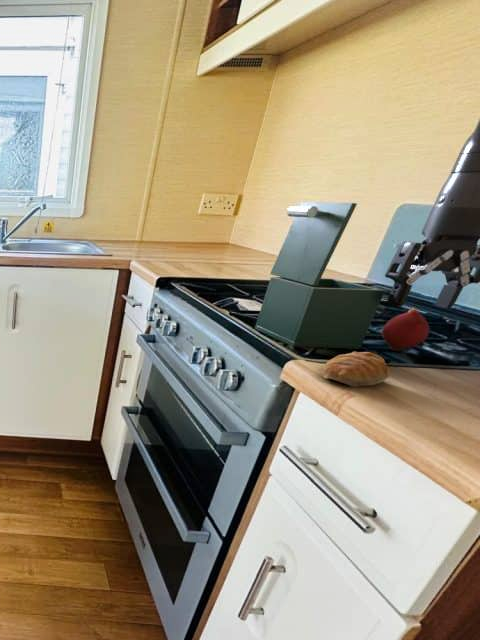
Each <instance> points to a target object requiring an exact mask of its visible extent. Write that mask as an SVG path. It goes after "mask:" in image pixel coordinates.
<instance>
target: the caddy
mask: <svg viewBox="0 0 480 640" xmlns="http://www.w3.org/2000/svg"><path fill="white" fill-rule="evenodd" d="M385 292H386V290H385V289H380V288H378V287H372V286H367V285H363V284H359V283H355V282H350V281H346V280H341V279H337V278H328V277H327V278H324V277H323V278H322V277H321V279H320V281H319V283H318V285H317V286H314V285H310V284H306V283H302V282H298V281H294V280H291V279H287V278H283V277H279V276H271V277H270V279H269V282H268V285H267V289H266V291H265V295H264V298H263V301H262V305H261V308H260V310H259V313H258V317H257V320H256V323H255V326H254V330H257V331H258V332H261V333H263V334H265V335H267V336H269V337H271V338H274V339H276V340H278V341H280V342H282V343H284V344H286V345H288V346H291V347H294V348H295V347H296V348H327V349H329V348H331V349H360V350H361V347H362V345H363V343H364V340H365V339H366V337H367V334H368V331H369V329H370V327H371V325H372V323H373V320H374V317H375V315H376V313H377V310H378V308H379V306H380V303H381V301H382V299H383V297H384V295H385Z"/></svg>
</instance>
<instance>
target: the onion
mask: <svg viewBox="0 0 480 640" xmlns="http://www.w3.org/2000/svg"><path fill="white" fill-rule="evenodd" d="M429 333H430V326H429V323H428V321H427V320H426V318H425V317H424V316H423V315H422V314H421V313H420V312H419V311H418V309H417V308H415V307H410V308H409V309H408V311H407V312H404V313H401V314H398V315H396V316H394V317H393V318H391V319H390V320H388V321H387V322H386V323H385V324H384V326H383V327H382V330H381V337H382V338H383V340H384V341H385V343H386V345H388V346H389V347H390V349H391V350H392V351H394V352H400V351H404V350H408V349H412V348H414V347H417V346H419V345H420V344H422V343H423V342H425V340H426V339H427V338H428V336H429Z"/></svg>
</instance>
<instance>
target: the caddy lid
mask: <svg viewBox="0 0 480 640" xmlns="http://www.w3.org/2000/svg"><path fill="white" fill-rule="evenodd" d="M357 205H358V203H355V202H329V201H328V202H321V201H320V202H319V201H301V202H300V204H299V205H291V206H289V207H288V208H287V210H286V215H287V216H288V217H291V218H293V217H294V219H293V220H292V222H291V225H290V227H289V230H288V232H287V234H286V236H285V239H284V241H283V243H282V244H281V245H282V246H281V248H280V250H279V253H278V255H277V257H276V260H275V262H274V264H273V266H272V268H271V270H270V273H269V275H272V276H274V277H283V278H287V279H291V280H294V281H298V282H302V283H306V284H310V285H314V286H317V285H318V283H319V281H320V279H321V278H322V277H323V275H324V272H325V270H326V268H327V267H328V265H329V262H330V260H331V258H332V256H333V255H334V252H335V250H336V248H337V246H338V244H339V243H340V240H341V238H342V236H343V234H344V232H345V230H346V228H347V225H348V224H349V222H350V219H351V217H352V215H353V213H354V212H355V209H356V208H357Z"/></svg>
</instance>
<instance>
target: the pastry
mask: <svg viewBox="0 0 480 640" xmlns="http://www.w3.org/2000/svg"><path fill="white" fill-rule="evenodd" d="M322 376H323V378H324V379H329V380H334V381H337V382H339V383H342V384H345V385H348V386H350V387H355V388H356V387H368V386H369V387H370V386H374V385H377V384H382V382H383V381H385V380H387V379H388V378H390V376H391V373H390V372H389V368H388V365H387V364H386V362H385V359H384V358H383V357H382V356H380V355H378V354H377V353H374V352H370V351H362V352H361V351H360V352H359V351H355V350H354V351H352V352H350V353H349V352H348V353H345V354H344V353H343V354H338V355H336V356H334V357H333V358H331V359H329V360H328V361H327V362H326V364H325V366H324V369H323V372H322Z"/></svg>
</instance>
